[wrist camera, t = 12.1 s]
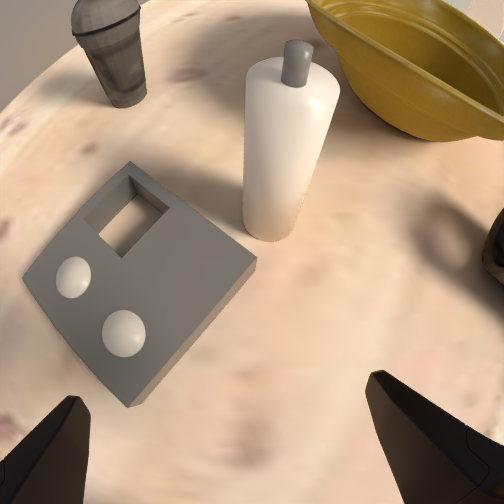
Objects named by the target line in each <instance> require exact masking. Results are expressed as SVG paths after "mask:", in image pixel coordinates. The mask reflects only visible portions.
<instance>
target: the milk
mask: <svg viewBox="0 0 504 504" xmlns="http://www.w3.org/2000/svg"><path fill="white" fill-rule="evenodd" d="M465 15H467V16H468V17H469V18H471V19H472V20H474V21H475V22H477V23H478V24H479V25H480V26H482V27H483V28H484V29H486V30H487V31H488V32H489V33H490V34H492V35H493V36H494V37H495V38H496V39H497V40H498V39H499V37H500V35H501V33H502V31H503V29H504V0H472V2H471V4H470V6H469V8H468V10H467V11H466V13H465Z"/></svg>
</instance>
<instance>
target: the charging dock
mask: <svg viewBox="0 0 504 504" xmlns="http://www.w3.org/2000/svg"><path fill="white" fill-rule="evenodd" d="M137 194H140V195H141V196H142V197H143V198H144V199H146V200H147V201H148V202H149V203H151V204H152V205H153V206H154V207H155V208H157V209H158V210H159V211H160V212H162V213H163V215H162V216H161V217H160V218H159V219H158V220H157V221H156V222H155V224H154V225H153V226H152V227H151V228H150V229H149V230H148V231H147V232H146V233H145V234H144V235H143V236H142V237H141V238H140V239H139V240H138V241H137V242H136V243H135V244H134V246H133V247H132V248H131V249H130V250H129V251H128V252H127V253H126V254H125V255H124V256H123V258H121V257H120V256H119V255H118V254H117V253H116V252H115V251H114V250H113V249H112V248H111V247H110V246H109V245H108V244H107V243H106V242H105V241H104V240H103V239H102V238H101V237H100V236H99V235H98V234H99V233H100V232H101V230H102V229H103V228H104V227H105V226H106V225H107V224H108V223H109V222H110V221H111V220H112V219H113V218H114V217H115V216H116V215H117V214H118V213H119V212H120V211H121V210H122V209H123V208H124V207H125V206H126V205H127V204H128V203H129V202H130V201H131V200H132V199H133V198H134V197H135V196H136V195H137ZM256 262H257V257H256V256H255V255H253V254H252V253H251V252H250V251H248V250H247V249H246V248H244V247H243V246H242V245H240V244H239V243H238V242H236V241H235V240H234V239H232V238H231V237H230V236H228V235H227V234H226V233H224V232H223V231H222V230H220V229H219V228H218V227H216V226H215V225H214V224H213V223H211V222H210V221H209V220H207V219H206V218H205V217H203V216H202V215H201V214H199V213H198V212H197V211H195V210H194V209H193V208H191V207H190V206H189V205H187V204H186V203H185V202H183V201H182V200H181V199H180V198H178V197H177V196H176V195H174V194H173V193H172V192H170V191H169V190H168V189H166V188H165V187H164V186H162V185H161V184H160V183H158V182H157V181H156V180H154V179H153V178H152V177H150V176H149V175H148V174H147V173H145V172H144V171H143V170H141V169H140V168H139V167H137V166H136V165H135V164H133V163H132V162H131V161H130V162H129V163H127V164H126V165H125V166H124V167H123V168H122V169H121V170H120V171H119V172H118V173H117V174H115V175H114V176H113V177H112V178H111V179H110V180H109V181H108V182H107V183H106V184H105V185H104V186H103V187H102V188H101V189H100V190H99V191H98V192H97V193H96V194H95V195H94V196H93V197H92V198H91V199H90V200H89V201H88V202H87V203H86V204H85V205H84V206H83V207H82V208H81V209H80V210H79V211H78V212H77V213H76V215H75V216H74V217H73V218H72V219H71V220H70V221H69V222H68V223H67V224H66V225H65V227H64V228H63V229H62V230H61V231H60V232H59V233H58V234H57V236H56V237H55V238H54V239H53V240H52V241H51V243H50V244H49V245H48V246H47V247H46V248H45V250H44V251H43V252H42V253H41V255H40V256H39V257H38V258H37V259H36V261H35V262H34V263H33V264H32V266H31V267H30V268H29V270H28V271H27V272H26V273H25V275H24V276H23V277H22V279H23V281H24V282H25V284H26V286H27V287H28V289H29V290H30V292H31V293H32V295H33V296H34V298H35V299H36V301H37V302H38V304H39V305H40V306H41V308H42V309H43V311H44V312H45V314H46V315H47V316H48V318H49V319H50V320H51V322H52V323H53V325H54V326H55V327H56V329H57V330H58V331H59V332H60V334H61V335H62V336H63V338H64V339H65V340H66V341H67V343H68V344H69V345H70V346H71V348H72V349H73V350H74V351H75V352H76V354H77V355H78V356H79V357H80V358H81V360H82V361H83V362H84V363H85V364H86V365H87V366H88V368H89V369H90V370H91V371H92V372H93V373H94V374H95V375H96V376H97V378H98V379H99V380H100V381H101V382H102V383H103V384H104V385H105V386H106V387H107V388H108V389H109V390H110V391H111V392H112V393H113V394H114V395H115V396H116V397H117V398H118V399H119V400H120V401H121V402H122V403H123V404H124V405H125V406H126V407H127V408H130V407H133V406H136V405H139V404H141V403H142V402H143V401H144V400H145V399H146V398H147V396H148V395H149V394H150V393H151V392H152V391H153V390H154V388H155V387H156V386H157V385H158V384H159V383H160V382H161V380H162V379H163V378H164V377H165V376H166V375H167V373H168V372H169V371H170V370H171V369H172V368H173V367H174V365H175V364H176V363H177V362H178V361H179V360H180V358H181V357H182V356H183V355H184V354H185V353H186V351H187V350H188V349H189V348H190V347H191V346H192V345H193V343H194V342H195V341H196V340H197V339H198V338H199V336H200V335H201V334H202V333H203V332H204V330H205V329H206V328H207V327H208V326H209V325H210V323H211V322H212V321H213V320H214V319H215V318H216V316H217V315H218V314H219V313H220V312H221V311H222V309H223V308H224V307H225V306H226V305H227V303H228V302H229V301H230V300H231V299H232V298H233V296H234V295H235V294H236V293H237V292H238V290H239V289H240V288H241V287H242V286H243V285H244V283H245V282H246V281H247V280H248V279H249V277H250V276H251V275H252V274H253V273H254V271H255V268H256Z"/></svg>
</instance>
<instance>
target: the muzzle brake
mask: <svg viewBox="0 0 504 504" xmlns="http://www.w3.org/2000/svg"><path fill="white" fill-rule="evenodd" d="M482 261H484V265H485V268H486V270H487V272H489V273H490V274H491V275H492V276H493V277H495V278H496V279H497V280H498V281H499V282H501V283H502V284H503V285H504V208H503V209H502V211H501V212H500V213H499V215H498V216H497V218H496V220H495V221H494V223H493V225H492V227H491V229H490V231H489V234H488V237H487V240H486V243H485V248H484V250H483V256H482Z"/></svg>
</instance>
